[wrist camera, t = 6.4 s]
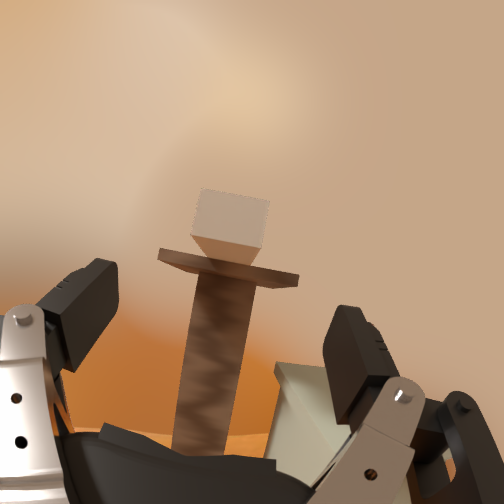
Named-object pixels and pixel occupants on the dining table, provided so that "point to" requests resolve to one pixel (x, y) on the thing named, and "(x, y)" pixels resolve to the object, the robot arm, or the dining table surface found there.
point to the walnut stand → (215, 347)
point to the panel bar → (229, 225)
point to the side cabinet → (309, 426)
